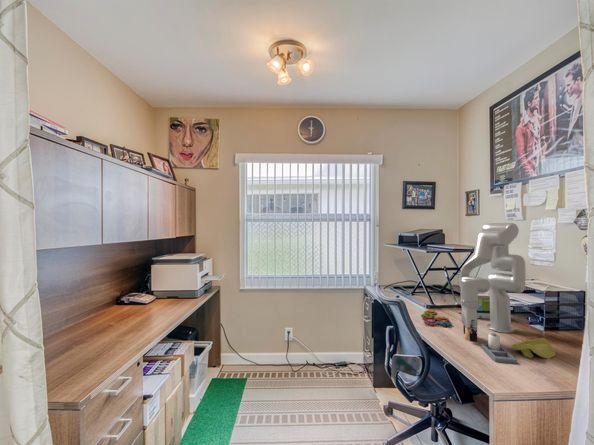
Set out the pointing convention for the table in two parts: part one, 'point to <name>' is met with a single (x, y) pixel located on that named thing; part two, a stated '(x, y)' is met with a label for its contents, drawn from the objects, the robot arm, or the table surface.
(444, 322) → the gear puzzle
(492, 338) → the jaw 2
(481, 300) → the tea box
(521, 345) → the plastic component
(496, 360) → the housing
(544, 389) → the table surface
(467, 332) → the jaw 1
